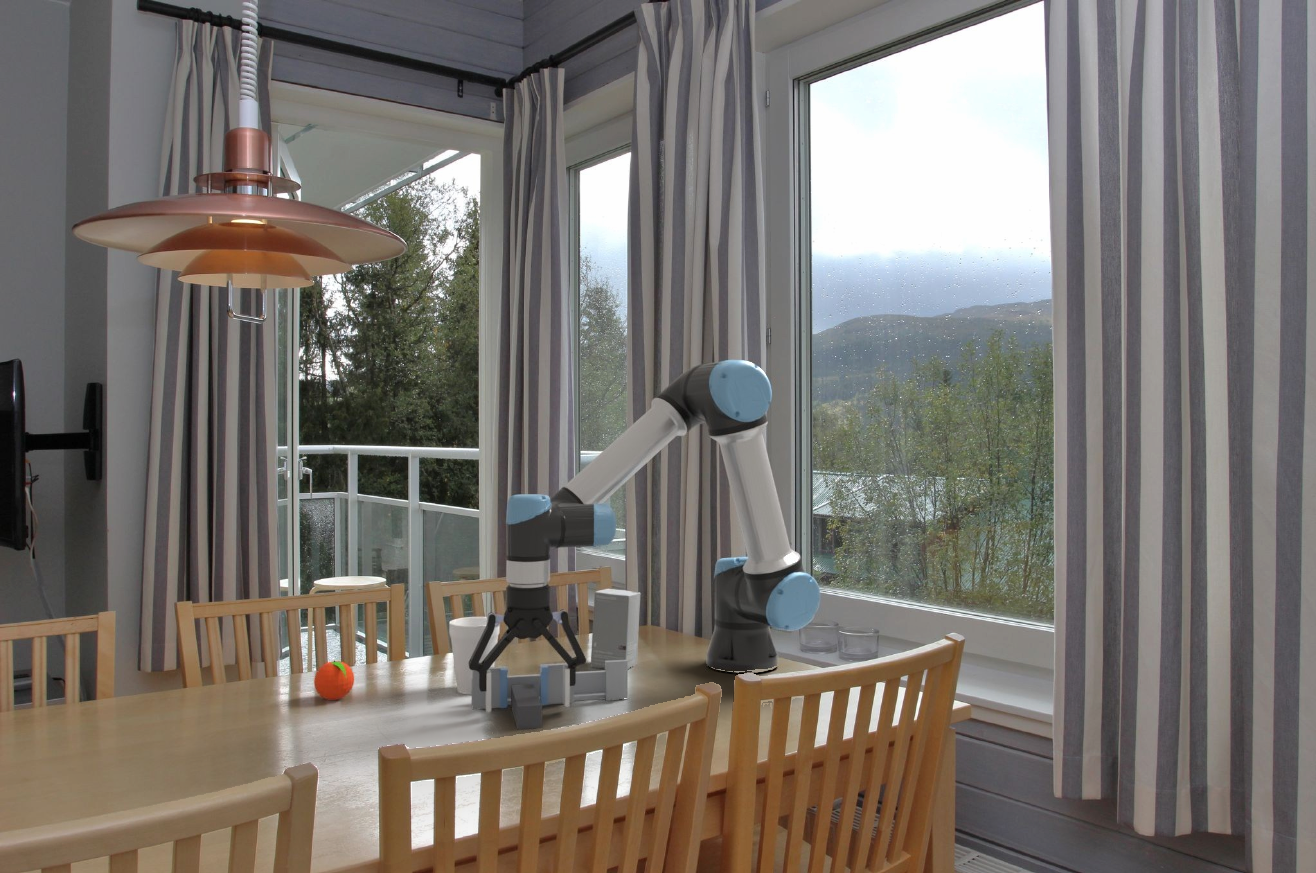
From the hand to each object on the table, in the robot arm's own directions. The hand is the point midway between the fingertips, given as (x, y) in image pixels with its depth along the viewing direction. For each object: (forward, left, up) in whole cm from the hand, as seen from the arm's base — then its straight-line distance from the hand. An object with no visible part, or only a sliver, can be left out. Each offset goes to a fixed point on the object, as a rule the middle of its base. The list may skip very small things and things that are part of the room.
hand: (527, 707), depth 162 cm
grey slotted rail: (-5, -8, -1) cm, 10 cm away
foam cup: (+8, -19, -2) cm, 21 cm away
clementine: (+33, -18, -2) cm, 38 cm away
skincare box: (-22, -31, -2) cm, 38 cm away
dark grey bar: (0, 0, -2) cm, 2 cm away
